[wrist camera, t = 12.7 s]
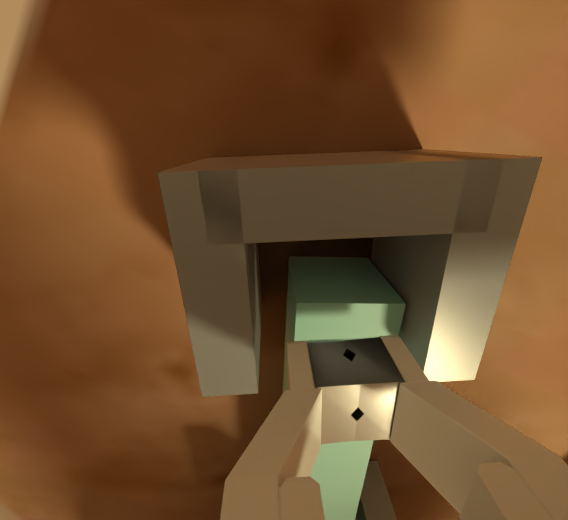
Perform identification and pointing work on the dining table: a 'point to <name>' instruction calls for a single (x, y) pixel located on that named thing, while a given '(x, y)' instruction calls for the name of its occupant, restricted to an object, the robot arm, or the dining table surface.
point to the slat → (339, 325)
